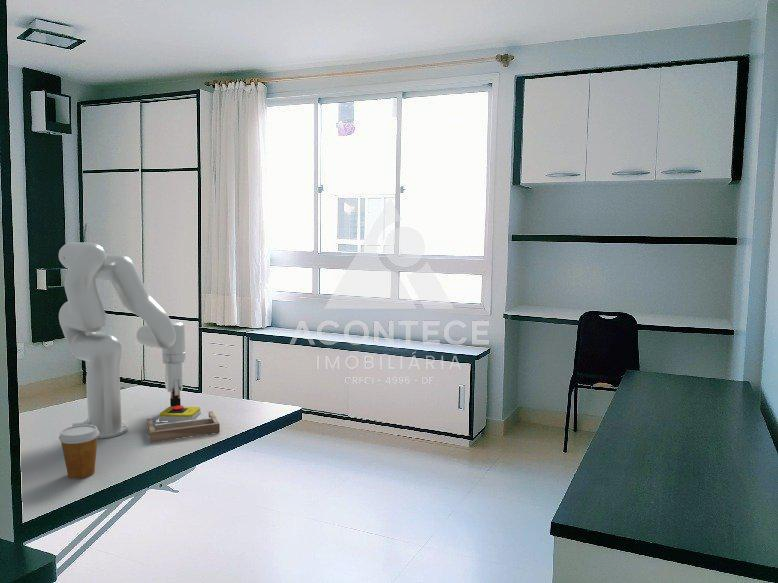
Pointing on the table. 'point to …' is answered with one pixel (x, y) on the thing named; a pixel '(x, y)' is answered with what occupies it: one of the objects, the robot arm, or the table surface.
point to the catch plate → (182, 424)
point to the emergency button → (179, 413)
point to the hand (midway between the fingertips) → (175, 408)
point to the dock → (183, 430)
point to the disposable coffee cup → (79, 450)
